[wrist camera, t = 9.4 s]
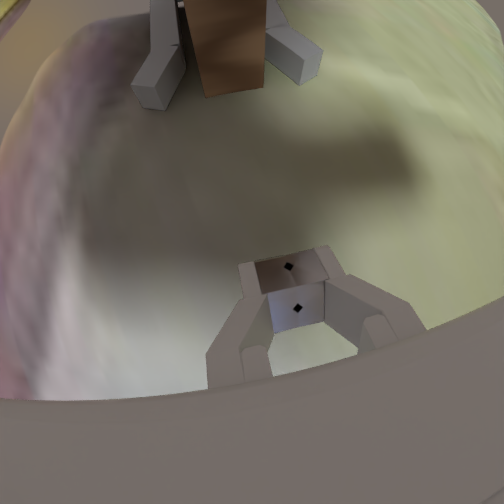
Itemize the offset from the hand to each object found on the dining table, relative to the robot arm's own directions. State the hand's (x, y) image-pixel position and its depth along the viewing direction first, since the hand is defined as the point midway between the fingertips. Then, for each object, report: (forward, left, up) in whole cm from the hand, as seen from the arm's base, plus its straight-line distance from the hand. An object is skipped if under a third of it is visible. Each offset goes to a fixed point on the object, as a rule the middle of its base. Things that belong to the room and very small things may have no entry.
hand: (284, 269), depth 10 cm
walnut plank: (0, +17, -5) cm, 18 cm away
